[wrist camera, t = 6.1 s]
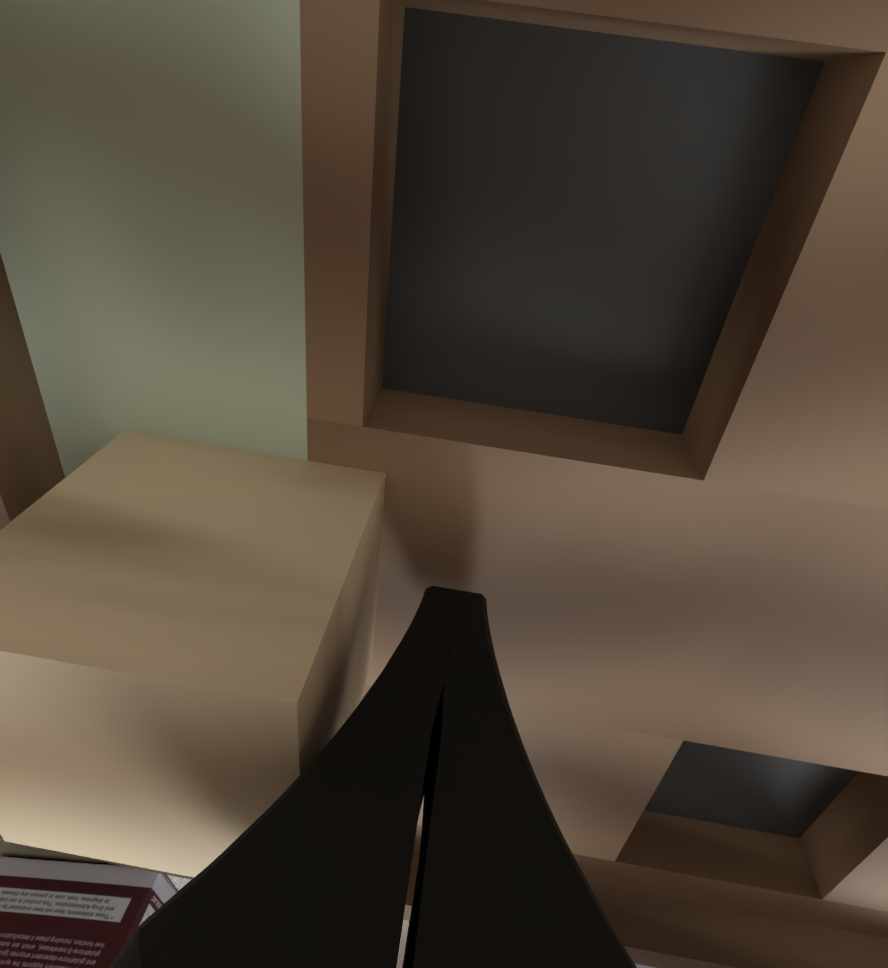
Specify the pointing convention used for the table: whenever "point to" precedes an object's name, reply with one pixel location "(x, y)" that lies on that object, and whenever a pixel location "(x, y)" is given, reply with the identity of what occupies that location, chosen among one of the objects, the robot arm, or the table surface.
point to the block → (178, 645)
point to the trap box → (520, 378)
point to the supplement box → (72, 911)
